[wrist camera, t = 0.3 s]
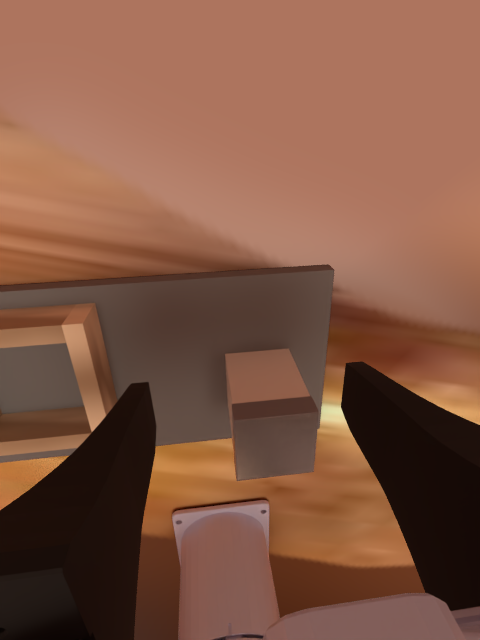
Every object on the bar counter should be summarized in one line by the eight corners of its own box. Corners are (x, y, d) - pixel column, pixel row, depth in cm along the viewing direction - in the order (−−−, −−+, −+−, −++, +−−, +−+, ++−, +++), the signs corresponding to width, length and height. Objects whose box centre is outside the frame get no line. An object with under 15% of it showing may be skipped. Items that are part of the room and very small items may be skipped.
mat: (315, 419, 27) (319, 428, 26) (5, 451, 25) (-2, 462, 24) (328, 264, 21) (334, 269, 21) (-66, 290, 20) (-79, 297, 19)
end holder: (120, 415, 23) (112, 444, 21) (-9, 428, 23) (-31, 459, 20) (94, 302, 20) (82, 323, 18) (-61, 313, 19) (-94, 336, 17)
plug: (287, 399, 24) (313, 471, 19) (227, 405, 24) (236, 480, 19) (289, 347, 23) (319, 411, 17) (224, 353, 22) (234, 420, 17)
